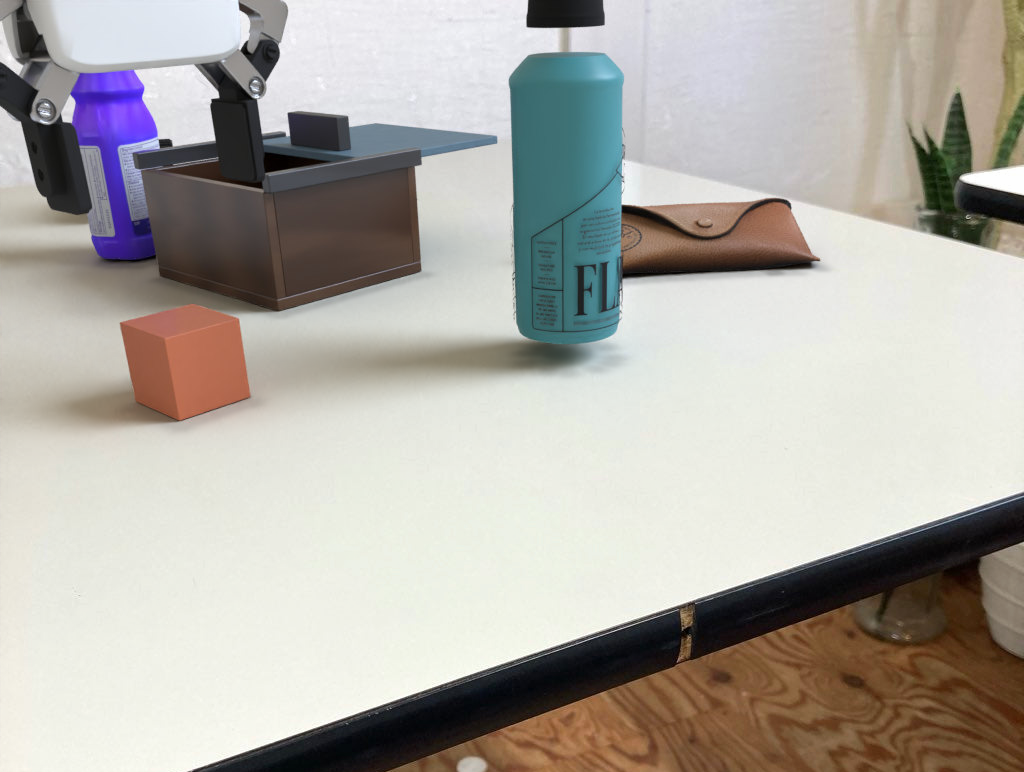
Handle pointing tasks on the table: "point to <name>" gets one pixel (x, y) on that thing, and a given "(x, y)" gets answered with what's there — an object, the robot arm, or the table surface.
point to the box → (282, 223)
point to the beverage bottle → (567, 184)
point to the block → (186, 360)
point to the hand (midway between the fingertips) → (162, 194)
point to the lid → (363, 138)
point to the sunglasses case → (711, 237)
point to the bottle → (115, 160)
